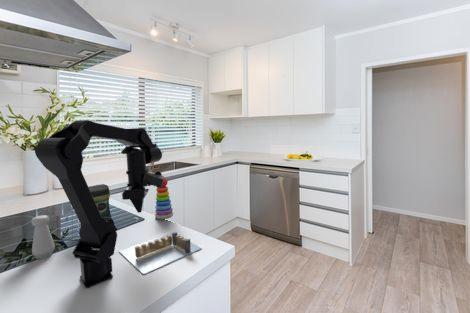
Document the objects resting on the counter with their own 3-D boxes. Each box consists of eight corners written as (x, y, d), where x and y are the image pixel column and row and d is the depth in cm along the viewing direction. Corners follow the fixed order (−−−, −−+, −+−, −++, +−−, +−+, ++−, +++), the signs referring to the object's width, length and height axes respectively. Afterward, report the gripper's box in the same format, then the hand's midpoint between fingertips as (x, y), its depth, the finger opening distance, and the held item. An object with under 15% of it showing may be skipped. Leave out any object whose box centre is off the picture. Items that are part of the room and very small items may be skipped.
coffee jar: (107, 225, 102) (104, 181, 99) (116, 230, 97) (112, 184, 94) (81, 233, 94) (77, 186, 92) (89, 239, 89) (84, 189, 87)
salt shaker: (36, 253, 79) (31, 214, 78) (57, 249, 82) (53, 212, 80) (29, 262, 74) (24, 221, 73) (52, 258, 76) (48, 218, 75)
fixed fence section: (187, 254, 78) (186, 242, 77) (171, 244, 84) (171, 233, 84) (191, 252, 79) (191, 240, 79) (176, 243, 86) (175, 231, 85)
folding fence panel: (170, 243, 84) (169, 234, 83) (172, 244, 83) (171, 235, 82) (135, 256, 75) (134, 246, 75) (137, 258, 75) (136, 248, 74)
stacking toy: (166, 212, 117) (164, 173, 114) (176, 216, 112) (175, 176, 109) (151, 217, 111) (149, 176, 108) (161, 221, 106) (160, 179, 103)
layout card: (143, 275, 67) (143, 273, 67) (118, 252, 80) (118, 251, 80) (201, 249, 81) (201, 247, 81) (172, 232, 94) (172, 232, 94)
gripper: (160, 170, 73) (162, 220, 75) (163, 161, 91) (165, 201, 93) (120, 172, 70) (123, 223, 72) (132, 162, 88) (134, 204, 90)
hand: (139, 212), depth 82 cm, fingers closed
